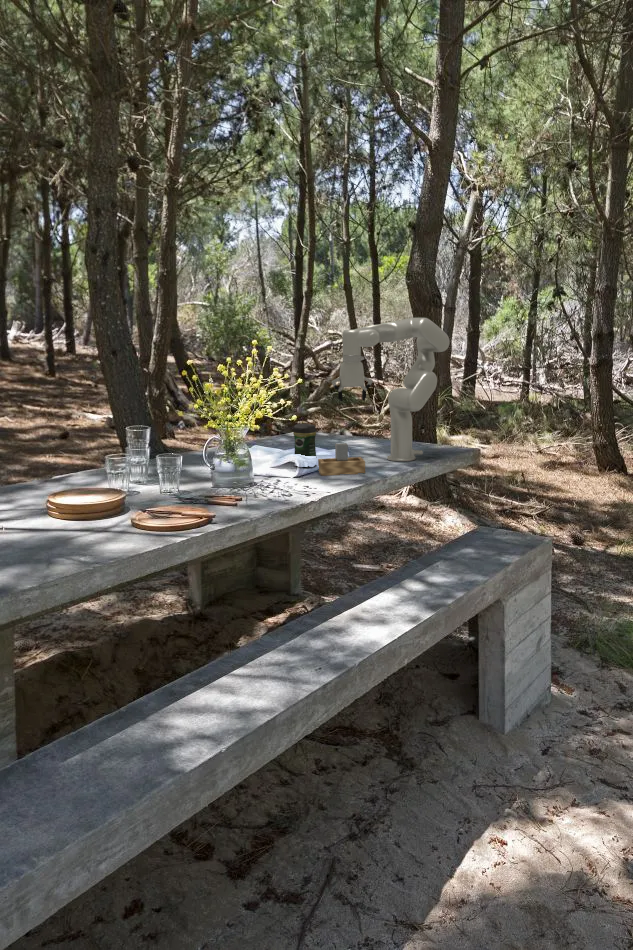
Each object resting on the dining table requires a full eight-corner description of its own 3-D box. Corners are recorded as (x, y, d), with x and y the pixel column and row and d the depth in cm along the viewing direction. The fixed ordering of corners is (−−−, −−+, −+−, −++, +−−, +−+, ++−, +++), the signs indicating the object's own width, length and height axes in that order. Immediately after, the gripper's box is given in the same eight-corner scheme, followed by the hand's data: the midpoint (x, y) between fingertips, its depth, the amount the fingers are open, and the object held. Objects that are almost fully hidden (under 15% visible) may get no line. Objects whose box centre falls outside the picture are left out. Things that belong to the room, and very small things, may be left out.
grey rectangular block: (346, 469, 337) (346, 443, 335) (348, 471, 333) (347, 444, 331) (335, 469, 337) (335, 443, 335) (337, 471, 332) (336, 445, 330)
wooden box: (360, 469, 341) (360, 457, 340) (365, 473, 331) (365, 461, 330) (318, 471, 338) (318, 458, 337) (321, 475, 329) (321, 462, 328)
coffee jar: (320, 466, 350) (319, 423, 346) (307, 469, 344) (306, 425, 340) (303, 464, 356) (302, 421, 352) (291, 466, 350) (289, 424, 347)
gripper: (370, 358, 344) (370, 399, 348) (330, 359, 342) (330, 400, 346) (373, 359, 337) (374, 400, 340) (332, 360, 335) (333, 402, 338)
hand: (352, 400), depth 343 cm, fingers open, 9 cm apart
